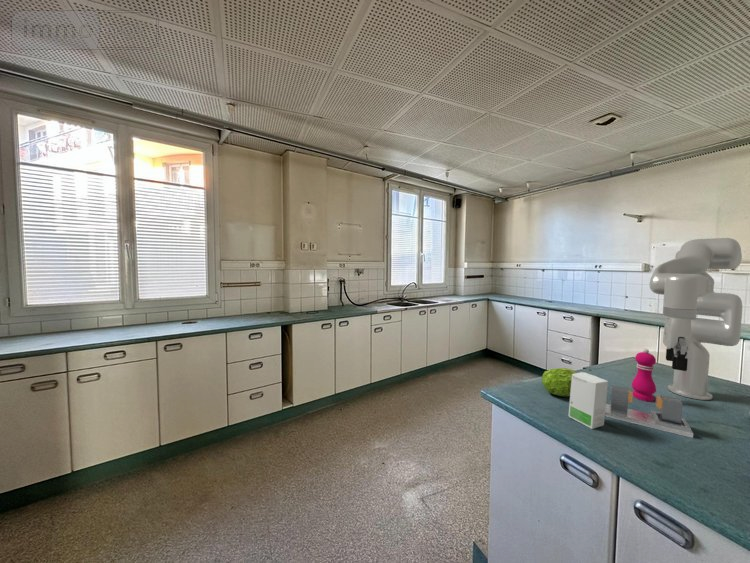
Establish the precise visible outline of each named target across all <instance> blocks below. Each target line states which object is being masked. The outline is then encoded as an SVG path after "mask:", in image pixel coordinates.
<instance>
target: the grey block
mask: <svg viewBox="0 0 750 563" xmlns="http://www.w3.org/2000/svg"><path fill="white" fill-rule="evenodd" d="M683 404H684V403H683V402H682V400H681V398H679V397H674V396H668V395H665V394H663V395H662V394H660V396H659V395H656V396H655V407H656V409H659V412H660V414H659V418H660V421H664V422H669V423H673V424H677V425H681V419H682V418H683V406H684V405H683Z"/></svg>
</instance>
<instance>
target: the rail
mask: <svg viewBox="0 0 750 563" xmlns="http://www.w3.org/2000/svg"><path fill="white" fill-rule="evenodd" d="M633 398H634V397H633V391H631V390H628V388H627V387H622V386H617V385H612V384H611V385H610V399H609V400H610V402H609V403H610V404H609V403H606V409H605V417H607V418H611V419H614V420H619V421H623V422H627V423H631V424H636V425H638V426H643V427H647V428H651V429H656V430H660V431H664V432H666V433H672V434H676V435H679V436H682V437H687V438H692V439H693V438H694V432H693V431H692V428H691V426H690V424H689V423H688V422H687V420H686V418H685V417H682V419H681V425H677V424H673V423H669V422H664V421H660V418H659V414H660V411H654V410H650V412H651V413H648V412H645V411H639V410H635V409H630V408H628V407H629V406H628V405H629V403H631V404H633Z"/></svg>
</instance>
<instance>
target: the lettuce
mask: <svg viewBox="0 0 750 563" xmlns="http://www.w3.org/2000/svg"><path fill="white" fill-rule="evenodd" d="M576 373H578V371H577V372H576V371H575V370H573V369H571V368H567V367H561V368H560V367H559V368H556V367H555V368H552V369H548V370H545V371H544V372H543V374H542V375H541V383H542V386H543V388H544V389H545V390H546V391H547V393H549V394H552V395H555V396H558V397H570V392H571V381H572V374H576Z"/></svg>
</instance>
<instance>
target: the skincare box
mask: <svg viewBox="0 0 750 563" xmlns="http://www.w3.org/2000/svg"><path fill="white" fill-rule="evenodd" d="M608 388H609V381H608V380H606V379H605V378H602V377H598V376H597V375H594V374H590V373H588V372H584V371H581V372H577V373H576V374H572V381H571V392H570V396H569V404H568V406H569V407H568V417H569V418H570V419H572V420H574V421H576V422H578V423H579V424H581V425H584V426H586V427H587V428H589V429H591V430H593V429H597V428H599V427H600V428H601V427H604V425H605V417H606V416H605V409H606V404H607V396H608Z"/></svg>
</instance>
